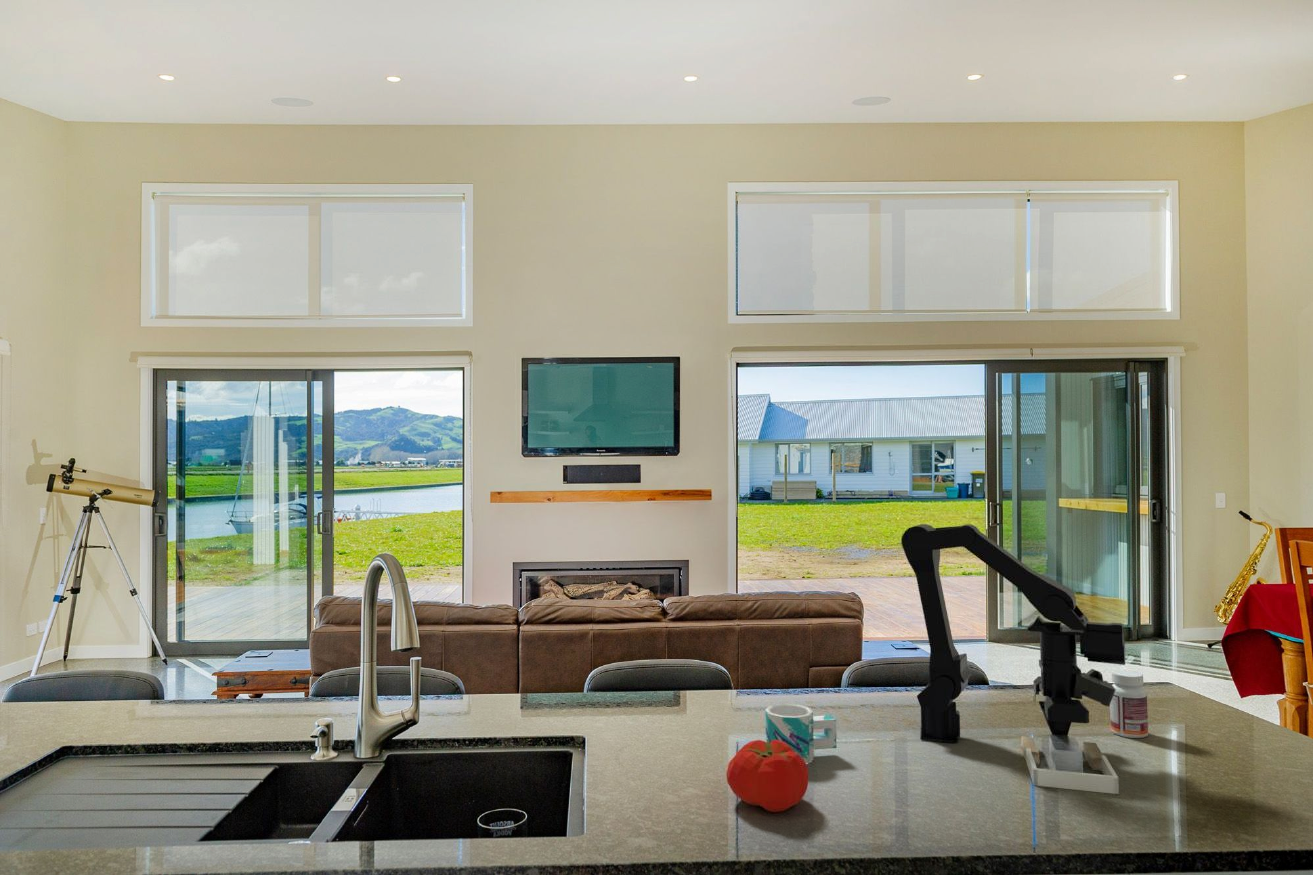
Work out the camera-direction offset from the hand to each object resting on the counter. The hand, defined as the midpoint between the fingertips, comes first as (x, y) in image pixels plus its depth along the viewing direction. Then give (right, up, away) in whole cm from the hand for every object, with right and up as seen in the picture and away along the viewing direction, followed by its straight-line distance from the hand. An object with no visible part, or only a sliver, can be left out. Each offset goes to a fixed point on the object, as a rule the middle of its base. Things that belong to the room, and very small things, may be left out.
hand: (1060, 748), depth 144 cm
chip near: (-2, -1, -7) cm, 8 cm away
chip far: (-1, -1, -3) cm, 4 cm away
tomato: (-54, -2, -19) cm, 57 cm away
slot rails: (-1, -1, -2) cm, 2 cm away
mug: (-45, -2, 0) cm, 45 cm away
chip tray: (-3, -1, -10) cm, 11 cm away
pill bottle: (+18, -2, +11) cm, 22 cm away
